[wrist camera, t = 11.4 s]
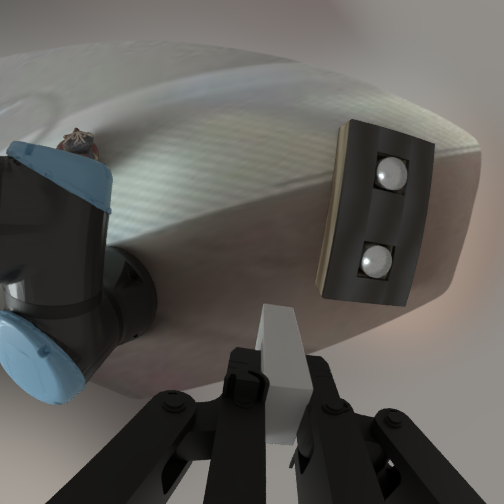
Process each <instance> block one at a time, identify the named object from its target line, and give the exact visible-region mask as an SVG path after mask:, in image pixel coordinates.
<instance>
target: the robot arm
mask: <svg viewBox="0 0 504 504" xmlns="http://www.w3.org/2000/svg"><path fill="white" fill-rule="evenodd" d="M6 154H8V156H0V283H2V285H3V296H4V310H1V311H0V363H1V365H2V366H3V368H4V369H5V371H6V372H7V373H8V374H9V376H10V377H11V378H12V379H13V380H14V381H15V382H16V383H17V384H18V385H19V386H20V387H21V388H22V389H23V390H25V391H26V392H27V393H29V394H30V395H31V396H33V397H35V398H36V399H38V400H40V401H42V402H45V403H48V404H52V405H61V404H64V403H68V402H69V401H70V400H72V399H73V398H74V397H75V396H76V395H77V394H78V393H79V392H80V391H82V390H83V389H84V388H85V385H86V383H87V382H88V381H89V379H90V378H91V377H92V376H93V374H94V373H95V372H96V371H97V370H98V368H99V367H100V366H101V365H102V363H103V362H104V361H105V360H106V358H107V357H108V356H109V355H110V354H111V352H112V351H113V350H114V349H115V348H116V346H119V345H121V344H124V343H126V342H129V341H132V340H134V339H136V338H138V337H139V336H140V335H142V334H143V333H144V332H145V330H146V329H147V328H148V326H149V325H150V324H151V322H152V320H153V318H154V316H155V313H156V307H157V296H156V290H155V286H154V284H153V281H152V279H151V277H150V275H149V273H148V271H147V270H146V268H145V267H144V266H143V265H142V264H141V262H140V261H139V260H137V259H136V258H135V257H134V256H133V255H131V254H130V253H128V252H126V251H124V250H122V249H119V248H115V247H106V238H107V230H108V222H109V215H110V214H111V208H110V201H111V191H112V183H113V177H112V173H111V171H110V169H109V168H108V167H107V166H106V165H105V164H103V163H102V162H99V161H97V160H94V159H91V158H88V157H84V156H81V155H77V154H74V153H70V152H66V151H63V150H59V149H54V148H50V147H46V146H41V145H35V144H30V143H26V142H21V141H13V142H12V143H11V144H10V146H9V148H8V149H7V150H6ZM330 371H331V370H330V368H329V365H328V363H327V362H326V361H325V360H324V359H323V358H322V357H321V356H312V355H305V353H304V348H303V344H302V340H301V336H300V332H299V328H298V324H297V320H296V316H295V313H294V309H293V308H292V307H285V306H278V305H271V304H264V303H263V309H262V314H261V320H260V325H259V330H258V336H257V341H256V347H255V350H254V349H247V348H240V347H236V348H235V349H234V350H233V351H232V352H231V353H230V359H229V364H228V369H227V374H226V376H225V378H224V385H223V393H222V395H221V396H220V397H218V398H217V399H215V400H212V401H208V402H195V400H194V399H193V398H192V397H191V396H190V395H188V394H186V393H184V392H180V391H176V390H167V391H163V392H160V393H158V394H157V395H155V396H154V397H153V398H152V399H151V400H150V401H149V402H148V403H147V404H146V405H145V406H144V407H143V408H142V409H141V410H140V411H139V412H138V413H137V414H136V416H134V418H132V419H131V420H130V421H129V423H128V424H127V425H126V426H125V427H124V428H123V429H122V430H121V431H120V432H119V433H118V434H117V435H116V436H115V437H114V438H113V439H112V440H111V441H110V442H109V443H108V444H107V445H106V446H105V447H104V448H103V449H102V450H101V451H100V452H99V453H98V454H96V456H94V457H93V458H92V459H91V460H90V461H89V463H87V464H86V465H85V466H84V467H83V468H82V469H81V470H80V471H79V472H78V473H77V474H76V475H75V476H74V477H73V478H72V479H71V480H70V481H69V482H68V483H67V484H66V485H64V486H63V487H62V488H61V489H60V490H59V491H58V492H57V493H56V494H55V495H54V496H53V497H52V498H51V499H50V500H49V501H47V502H46V503H45V504H166V502H167V501H168V499H169V498H170V496H171V495H172V493H173V492H174V490H175V489H176V487H177V486H178V484H179V483H180V481H181V479H182V478H183V476H184V475H185V473H186V472H187V470H188V468H189V467H190V465H191V464H192V461H195V460H209V459H211V461H210V467H209V472H208V478H207V484H206V490H205V495H204V501H203V504H266V446H265V445H266V443H268V444H281V445H293V444H294V441H295V439H296V436H297V443H298V446H297V448H296V450H295V453H294V455H293V457H292V460H291V462H290V465H289V468H292V467H293V465H294V463H295V470H296V481H297V492H298V503H299V504H486V503H485V502H484V501H483V499H481V497H480V496H479V495H478V494H477V493H476V492H475V490H474V489H473V488H472V487H471V486H470V485H469V484H468V483H467V481H466V480H465V479H464V478H463V477H462V476H461V475H460V474H459V473H458V471H457V470H456V469H455V468H454V467H453V466H452V465H451V464H450V463H449V461H448V460H447V459H446V458H445V457H444V456H443V455H442V454H441V452H440V451H439V450H438V449H437V448H436V447H435V446H434V445H433V444H432V442H431V441H430V440H429V439H428V438H427V437H426V436H425V435H424V434H423V432H422V431H421V430H420V429H419V428H418V427H417V426H416V425H415V424H414V423H413V421H412V420H411V419H410V418H409V417H408V416H407V415H406V414H404V413H403V412H401V411H399V410H397V409H391V408H387V409H382V410H380V411H378V413H377V414H376V415H375V417H369V416H365V415H360V414H357V413H354V411H353V408H352V407H351V405H350V404H349V403H348V402H347V401H345V400H344V399H341V398H340V396H339V394H338V391H337V388H336V385H335V382H334V379H333V376H332V374H331V372H330ZM389 460H391V461H392V463H393V464H394V466H393V467H392V466H390V465H389V463H388V462H389Z"/></svg>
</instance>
